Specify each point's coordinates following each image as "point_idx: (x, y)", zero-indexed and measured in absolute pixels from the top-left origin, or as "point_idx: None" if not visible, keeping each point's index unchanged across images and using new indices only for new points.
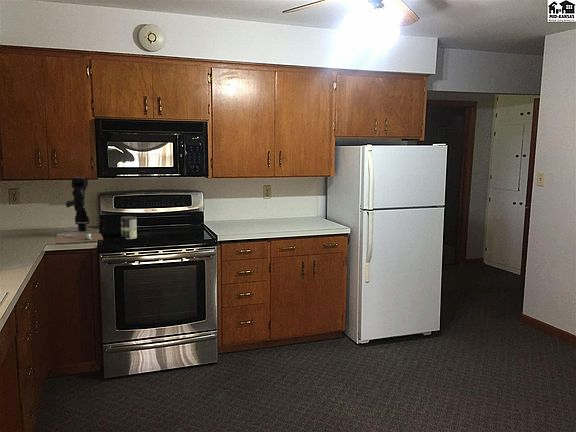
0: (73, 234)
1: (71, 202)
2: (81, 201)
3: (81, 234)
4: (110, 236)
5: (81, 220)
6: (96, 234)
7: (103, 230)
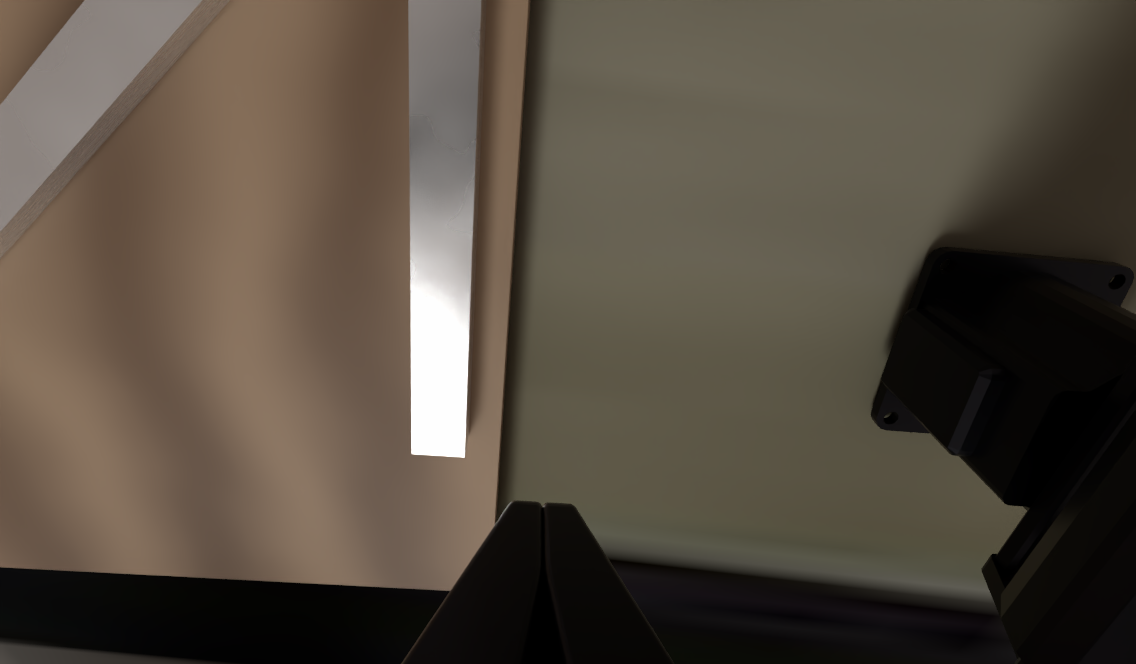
0: (409, 94)
1: None
2: None
3: (412, 282)
4: (396, 656)
5: (1081, 521)
6: (436, 528)
7: (961, 643)
